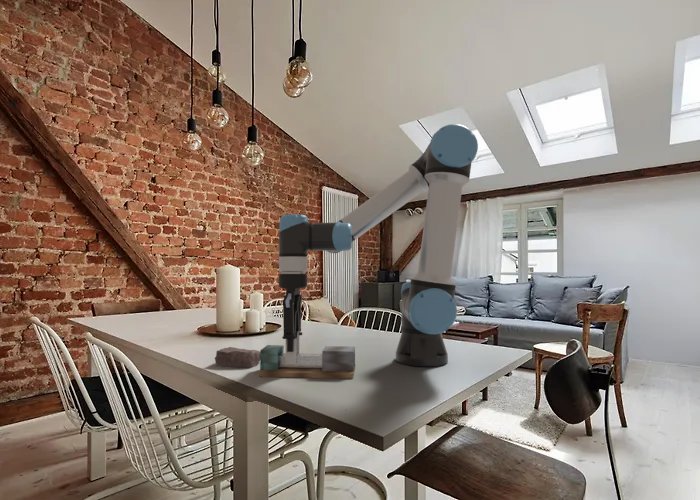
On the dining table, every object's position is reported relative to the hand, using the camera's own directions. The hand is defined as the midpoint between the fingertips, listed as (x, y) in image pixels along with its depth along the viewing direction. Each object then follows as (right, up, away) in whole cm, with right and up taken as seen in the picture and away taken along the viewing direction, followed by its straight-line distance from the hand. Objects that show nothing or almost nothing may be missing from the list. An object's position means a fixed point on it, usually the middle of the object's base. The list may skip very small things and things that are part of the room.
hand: (292, 362), depth 103 cm
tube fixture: (+4, -3, 0) cm, 5 cm away
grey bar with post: (+2, -1, 0) cm, 2 cm away
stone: (-16, -3, +9) cm, 19 cm away
